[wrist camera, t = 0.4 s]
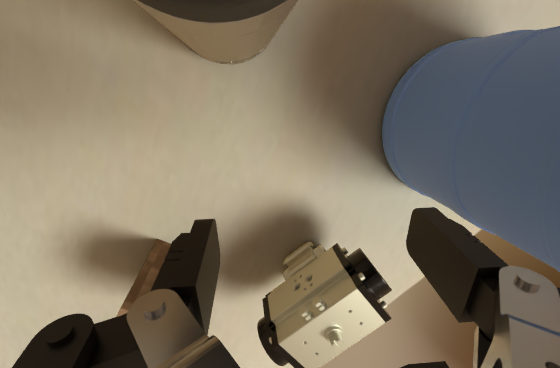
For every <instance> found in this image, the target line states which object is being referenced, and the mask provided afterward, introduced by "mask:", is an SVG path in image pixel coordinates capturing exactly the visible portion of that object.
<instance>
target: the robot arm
mask: <svg viewBox="0 0 560 368" xmlns="http://www.w3.org/2000/svg"><path fill="white" fill-rule="evenodd" d="M133 1H134V2H135V3H137V4H138V5H139V6H140V7H141V8H143V9H144V10H145V11H147V12H148V13H149V14H150V15H152V16H153V17H154V18H155V19H156V20H158V21H159V22H160V23H161V24H162V25H163V26H165V27H166V28H167V29H168V30H169V31H171V32H172V33H173V34H174V35H175V36H177V37H178V38H179V39H180V40H181V41H183V42H184V43H185V44H186V45H187V46H188V47H190V48H191V49H192V50H194V51H195V52H196V53H197V54H199V55H200V56H202V57H204V58H206V59H208V60H210V61H213V62H217V63H220V64H236V63H241V62H245V61H247V60H249V59H251V58H253V57H255V56H256V55H257V54H259V53H260V52H261V51H262V50H263V49H264V48H265V47H266V46H267V45H268V43H269V42H270V41H271V39H272V38H273V36H274V35H275V34H276V32H277V31H278V29H279V28H280V26H281V25H282V23H283V22H284V20H285V19H286V17H287V16H288V14H289V13H290V11H291V10H292V8H293V7H294V5H295V4H296V3H297V1H298V0H133ZM406 246H407V250H408V253H409V255H410V256H411V258H412V259H413V260H414V262H415V263H416V265H417V266H418V267H419V269H420V270H421V271H422V273H423V274H424V275H425V277H426V278H427V279H428V281H429V282H430V284H431V285H432V286H433V288H434V289H435V290H436V292H437V293H438V295H439V296H440V297H441V299H442V300H443V301H444V302H445V304H446V305H447V307H448V308H449V310H450V311H451V312H452V314H453V315H454V316H455V318H456V319H457V320H458V322H459V323H460V322H472V321H473V322H474V321H475V323H476V324H477V325H478V326H477V328H476V331H475V341H474V359H473V360H474V361H473V368H560V288H557V287H555V286H554V284H553V283H552V282H551V281H549V280H548V279H547V278H545V277H544V276H542V275H540V274H538V273H536V272H534V271H532V270H529V269H526V268H522V267H517V266H508V265H507V264H506V263H505V262H504V261H503V260H502V259H500V258H499V257H498V256H497V255H496V254H495V253H493V252H492V251H491V250H490V249H489V248H488V247H487V246H485V245H484V244H483V243H480V241H479V239H477V238H476V237H475V236H472V233H470V232H469V231H468V230H467V229H466V228H465V227H464V226H462V225H460V224H458V223H456V222H455V221H453V220H451V219H448V218H447V217H446V216H445V215H443V214H442V213H441V212H440V211H439V210H438V209H437V208H434V207H432V208H416V209H414V210H413V212H412V215H411V220H410V225H409V230H408V235H407V240H406ZM164 260H165V261H164V262H163V264H162V266H161V268H160V271H159V273H158V275H157V277H156V279H155V282H154V284H153V286H152V288H151V291H150V292H148V293H146V294H144V295H142V296H141V297H139V298H138V299H137V300H136V301H135V302H134V303H133V304H132V305H131V307H130V308H129V310H128V312H127V313H126V314H124V315H121V316H118V317H115V318H112V319H109V320H106V321H103V322H99V323H96V324H94V323H93V321H92V319H91V318H90V317H89V316H88V315H85V314H72V315H68V316H65V317H62V318H59V319H57V320H55V321H54V322H52V323H50V324H49V325H47V326H46V327H44V328H43V329H42V330H41V331H39V332H38V333H37V334H36V335H35V337H34V338H33V339H32V340H31V342H30V343H29V344H28V346H27V347H26V349H25V350H24V351H23V353H22V354H21V356H20V357H19V358H18V360H17V361H16V363H15V364H14V365H13V367H12V368H240V367H239V366H238V364H237V363H236V361H235V360H234V359H233V357H232V356H231V355H230V353H229V352H228V351H227V349H226V348H225V347H224V345H223V344H222V343H221V341H220V340H219V339H218V338H217V337H216V336H214V335H213V336H211V337H210V338H209V337H208V336H207V335H208V329H209V323H210V318H211V312H212V307H213V301H214V295H215V290H216V284H217V279H218V273H219V268H220V248H219V241H218V234H217V227H216V221H215V219H201V220H195V221H194V224H193V226H192V229H191V232H190V233H181V234H180V235H179V236H178V237H177V238H176V239H175V240H174V241H173V242H172V244H171V246H170V248H169V250H168V253H167V255H166V257H165V259H164ZM401 368H449V367H448V365H447V364H446V362H445V361H443V362H431V363H419V364H408V365H406V366H403V367H401Z"/></svg>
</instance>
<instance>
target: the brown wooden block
mask: <svg viewBox="0 0 560 368" xmlns="http://www.w3.org/2000/svg"><path fill="white" fill-rule="evenodd" d="M170 246H171V244H169V243H166V242H164V241H161V240H158V239H157V241H156V243H155V244H154V246H153V248H152V250H151V252H150V254H149V256H148V258H147V259H146V261H145V263H144V265H143V267H142V269H141V271H140V272H139V274H138V276H137V278H136V280H135V282H134V284H133V286H132V287H131V289H130V291H129V293H128V295H127V297H126V299H125V301H124V302H123V304H122V306H121V308H120V310H119V312H118V314H117V317H118V316H121V315H124V314H126V313H127V312H128V310H129V308H130V307H131V305H132V304H133V303H134V302H135V301H136V300H137V299H138V298H139V297H141V296H142V295H144V294H146V293H148V292H150V291H151V288H152V286H153V284H154V282H155V279H156V277H157V275H158V273H159V271H160V268H161V266H162V264H163V262H164V261H165V260H164V259H165V257H166V255H167V253H168V250H169V248H170Z"/></svg>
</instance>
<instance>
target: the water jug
mask: <svg viewBox="0 0 560 368" xmlns="http://www.w3.org/2000/svg"><path fill="white" fill-rule="evenodd" d="M382 141H383V148H384V152H385V156H386V159H387V161H388V163H389V165H390V167H391V169H392V171H393V172H394V173H395V175H396V176H397V177H398V178H399V179H400V180H401V181H402V182H403V183H404V184H406V185H407V186H408V187H410V188H412V189H413V190H415V191H417V192H419V193H420V194H423V195H425V196H428V197H430V198H432V199H434V200H436V201H437V202H439V203H441V204H443V205H444V206H446V207H448V208H450V209H451V210H453V211H454V212H455V213H457V214H458V215H459V216H461V217H462V218H464V219H465V220H467V221H469V222H470V223H472V224H474V225H476V226H477V227H479V228H481V229H483V230H485V231H488V232H490V233H492V234H495V235H497V236H499V237H501V238H502V239H504V240H506V241H508V242H509V243H511V244H513V245H515V246H516V247H518V248H520V249H522V250H524V251H525V252H527V253H529V254H530V255H532V256H534V257H536V258H538V259H539V260H541V261H543V262H545V263H546V264H548V265H550V266H552V267H554V268H555V269H557V270H558V271H559V272H560V26H558V27H553V28H548V29H540V30H518V31H511V32H507V33H502V34H497V35H492V36H487V37H476V38H469V39H464V40H459V41H455V42H451V43H448V44H445V45H442V46H440V47H438V48H436V49H434V50H432V51H431V52H429V53H427V54H426V55H424V56H423V57H422V58H420V59H419V60H418V61H417V62H416V63H415V64H413V65H412V66H411V67H410V68H409V70H408V71H407V72H406V73H405V74H404V75H403V77H402V78H401V79H400V81H399V82H398V84H397V85H396V87H395V89H394V91H393V93H392V95H391V97H390V99H389V101H388V104H387V107H386V110H385V114H384V119H383V126H382Z"/></svg>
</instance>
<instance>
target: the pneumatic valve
mask: <svg viewBox="0 0 560 368" xmlns="http://www.w3.org/2000/svg"><path fill="white" fill-rule="evenodd" d="M312 246H314V245H313V244H312V242H311V241H310V242H306V243H304V244H303V245H302V246H300V247H299V248H298V249H296V250H295V251H294V252H292V253H291V254H289V255H288V256H287V257H285V261H284V265H286V266H287V265H288V268H287V269H286V270H285V271H284V272H283V276H284V278H285V280H286V281H285V282H283V283H282V284H280V285H279V286H278V287H276V288H275V289H274V290H272V291H271V292H270V293H268V294H267V295H266V297H265V298H264V299H263V308H264V317H263V318H262V319H260V320H259V322H258V326H257V329H258V334H259V338H260V341H261V343H262V345H263V347H264V349H265V351H266V353H267V354H268V356H269V357H270V358H271V359H272V360H273V361H274V362H275V363H276V364H277V365H279V366H284V365H286V364H287V363H290V364H291V365H292V366H293V367H294V368H320V367H322V366H323V365H324V364H326V363H327V362H329V361H330V360H332V359H333V358H335V357H336V356H338V355H339V354H340V353H342V352H343V351H345V350H346V349H348V348H349V347H351V346H352V345H354V344H355V343H356V342H358V341H359V340H361V339H362V338H364V337H365V336H367V335H368V334H370V333H371V332H373V331H374V330H375V329H377V328H378V327H380V326H381V325H383V324H384V323H385V322H387V321H389V320H390V319H391V317H390V316H389V314H388V312H387V311H386V309H385V308H387V307H388V305H387V304H386V303H385V301H382V302H380V300H379V299H380V298H382V297H383V296H385V295H386V294H388V293H389V292H390V291H392V289H391V288H390V287H389V285H388V284H387V283H386V281H385V280H384V279H383V277H382V276H381V275H380V273H379V272H378V271H377V270H376V268H375V267H374V266H373V264H372V263H371V262H370V260H369V259H368V258H367V257H366V255H365V254H364V253H363V251H362V250H361V249H360V248H359V249H357V250H356V251H354V252H353V253H352V254H350V255H349V256H347V255H346V254H347V253H348V251H347V250H346V249H345V248H343V249H342V248H341V247H340V246H339V245H338V243H337V244H335V245H334V246H333V247H331V248H330V249H328V250H327V251H326V250H325V249H324V247H323V246H322V245H319V246H317V247H316V248H315V249H313V248H312Z"/></svg>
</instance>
